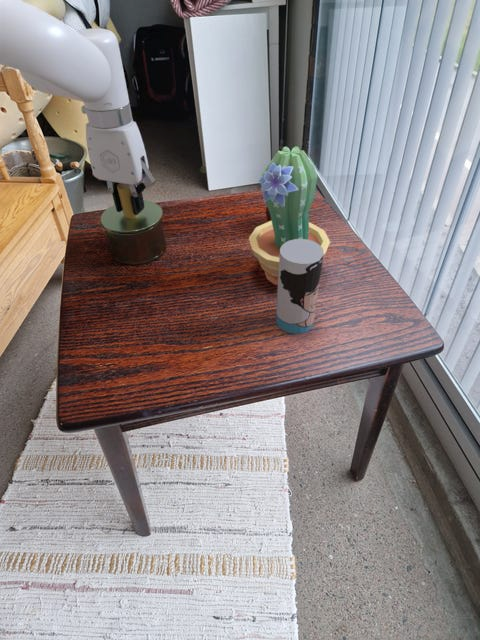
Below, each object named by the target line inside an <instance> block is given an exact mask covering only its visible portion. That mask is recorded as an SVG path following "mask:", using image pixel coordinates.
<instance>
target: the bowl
mask: <svg viewBox="0 0 480 640" xmlns="http://www.w3.org/2000/svg"><path fill="white" fill-rule="evenodd" d="M163 225H164V224H163V218H162V219H161V220H160V222H159V223H158V224H156V225H155V226H153V227H151V228H149V229H147V230H144V231H141V232H136V233H116V232H112V231H109V230H107V229H106V228H104V230H105V234H106V238H107V241H108V244H109V248H110V251H111V254H112V257H113V258H114V260H115V261H116V262H118V263H121V264H124V265H127V266H140V265H145V264H148V263H151V262H154V261H156V260H158V259H159V258H161V257H162V255H163V254H164V253H165V252H166V243H167V242H166V238H165V237H166V236H165V231H164V226H163Z"/></svg>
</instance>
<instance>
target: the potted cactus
mask: <svg viewBox="0 0 480 640" xmlns="http://www.w3.org/2000/svg"><path fill="white" fill-rule="evenodd" d="M258 182H259V184H260V185H261V188H260V190H261V191H262V197H263V198H262V199H263V203H265V205H266V206H267V207H268V210H269V212H270V216H271V220H272V221H269V222H268V221H266V222H265V223H263V224H260V225H258V226H256V227H255V228H254V229H253V231H252V233H251V234H250V235H249V237H248V239H249V244H250V249H251V251H252V254H253V256H254V257H255V258H256V259H257V260H258V263H259V265H260V267H261V268H262V270H263V271H264V274H265V277H266V279H267V280H268V281H269V282H270V283H272V284H273V285H274V286H278V276H279V258H280V248H281V246H282V245H283V244H284V243H285V242H287V241H290V240H294V239H306V240H311V241H314V242H316V243H317V244H319V245H320V246H321V247H322V248H323V251H324V254H323V259H324V258H325V256H326V253H327V250H328V248H329V246H330V244H331V240H330V239H329V236H328V235H327V233H326V231H325V230H324V229H323V228H321V227H319V226H317V225H315V224H314V223H312V222H310V210H311V207H312V205H313V203H314V200H315V195H316V189H317V183H318V173H317V170H316V167H315V164H314V163H313V162H312V160H311V159H310V157H309V156H308V154H307V153H306V151H305V150H300V147H299V146H296V145H295V146H294V147H292V149H291V150H290V148H289V147H288V146H283V147H282V148H281V150H278V151H277V152H276V153H275V154H274V156H273V158H272V159H271V161H270V162H268V164H267V166H266V168H265V169H264V171H263V172H262V175H261V177H260V178H259V179H258Z"/></svg>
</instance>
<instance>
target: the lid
mask: <svg viewBox="0 0 480 640" xmlns="http://www.w3.org/2000/svg"><path fill="white" fill-rule="evenodd" d="M117 189H118V193H119V197H120V201H121V205H122V211H121V212H117V210H116V206H115V204H113V205H111V206H109V207H108V208H107V209H105V210H104V211H103V212H102V214H101V215H100V223H101V225H102V227H103V228H104V229H105V228H106V229H107V230H109V231H112V232H116V233H136V232H141V231H144V230H147V229H149V228H151V227H153V226H155V225H156V224H158V223H159V222H160V220H161V219H162V220H163V217H164V212H163V209H162V207H161V206H160V205H159V204H157V203H156V202H155V201H154V202H153V201H150V200H145V199H143V201H144V209H143V210H142V211H141V212H140V213H139V214H138V215H134V214H133V209H132V205H131V200H130V197H131V196H132V193H131V190H130V187H129V184H123V183H119V184H118V185H117Z"/></svg>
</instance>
